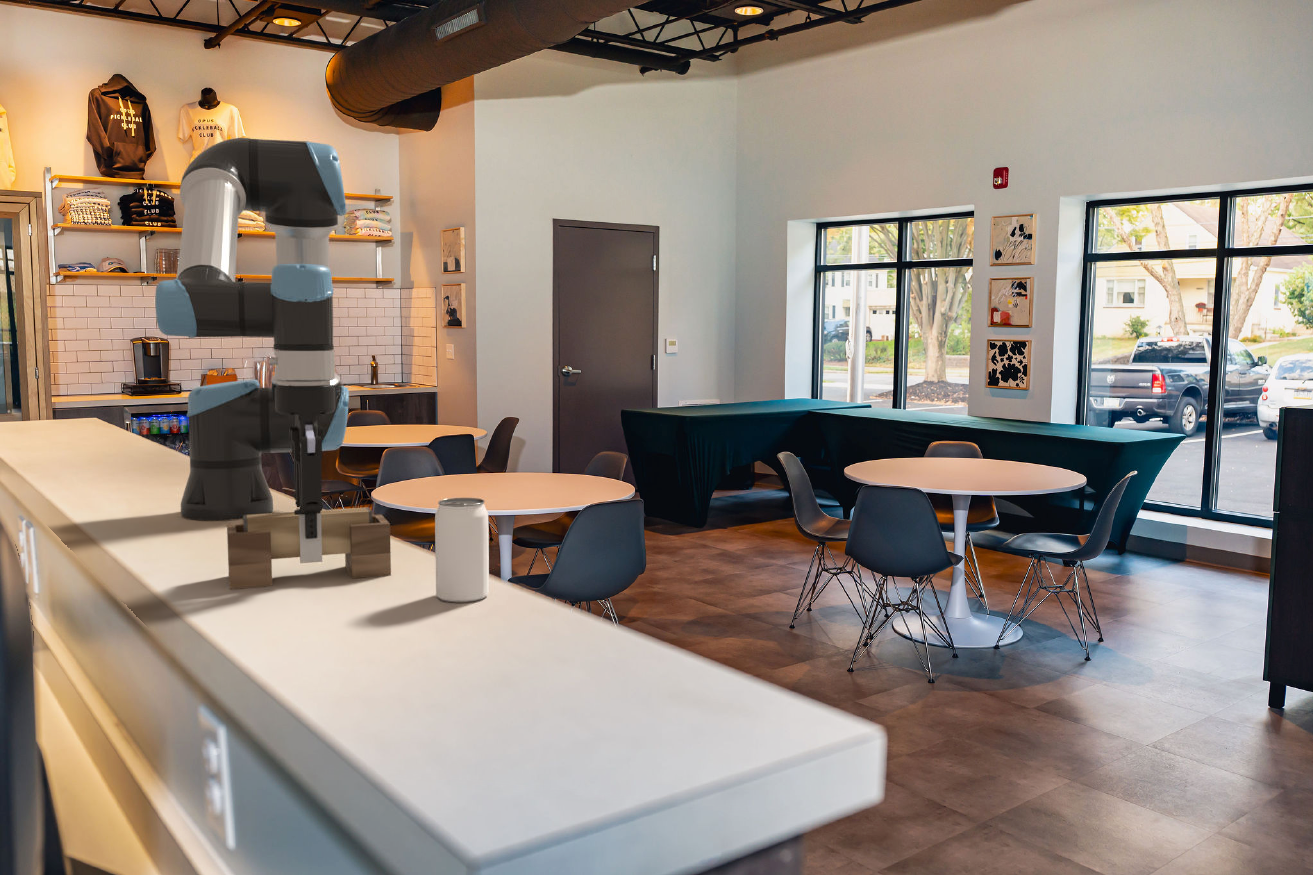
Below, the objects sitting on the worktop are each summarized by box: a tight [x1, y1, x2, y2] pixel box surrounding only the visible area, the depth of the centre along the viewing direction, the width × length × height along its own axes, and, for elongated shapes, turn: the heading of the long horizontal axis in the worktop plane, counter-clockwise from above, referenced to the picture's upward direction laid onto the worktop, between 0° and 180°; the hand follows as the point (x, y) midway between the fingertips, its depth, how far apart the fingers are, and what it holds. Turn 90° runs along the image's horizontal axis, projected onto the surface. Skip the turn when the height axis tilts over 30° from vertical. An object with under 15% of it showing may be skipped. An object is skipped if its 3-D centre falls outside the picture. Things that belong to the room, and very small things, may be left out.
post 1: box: [226, 522, 273, 590], centre depth 134 cm, size 7×5×7 cm
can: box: [434, 497, 490, 604], centre depth 126 cm, size 6×6×12 cm
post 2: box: [344, 513, 392, 579], centre depth 140 cm, size 7×5×7 cm
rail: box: [242, 506, 373, 560], centre depth 136 cm, size 3×16×6 cm, turn 114°
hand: (309, 558), depth 137 cm, fingers closed on rail, 3 cm apart
